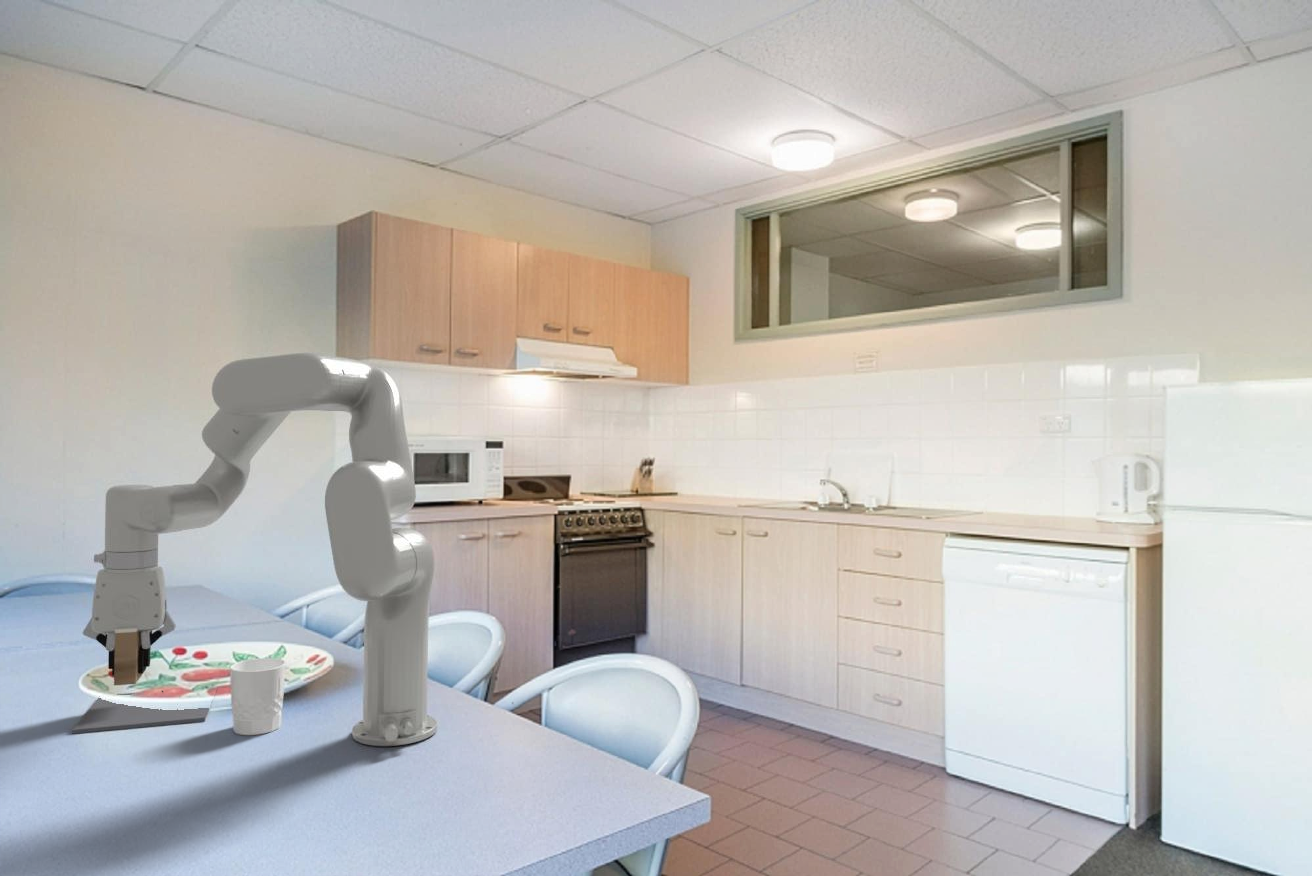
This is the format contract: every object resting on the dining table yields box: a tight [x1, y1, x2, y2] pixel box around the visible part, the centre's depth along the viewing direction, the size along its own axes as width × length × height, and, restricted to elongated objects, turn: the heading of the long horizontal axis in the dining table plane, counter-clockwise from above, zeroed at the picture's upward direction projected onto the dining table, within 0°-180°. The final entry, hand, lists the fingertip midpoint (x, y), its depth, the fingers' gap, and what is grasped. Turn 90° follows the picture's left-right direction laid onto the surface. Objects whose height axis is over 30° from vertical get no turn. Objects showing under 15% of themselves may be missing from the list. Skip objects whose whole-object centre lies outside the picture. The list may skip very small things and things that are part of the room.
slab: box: [113, 627, 144, 686], centre depth 142 cm, size 7×3×9 cm, turn 21°
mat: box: [71, 692, 210, 735], centre depth 143 cm, size 18×18×1 cm
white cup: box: [229, 657, 287, 736], centre depth 135 cm, size 8×8×10 cm
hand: (129, 671), depth 142 cm, fingers closed on slab, 3 cm apart
